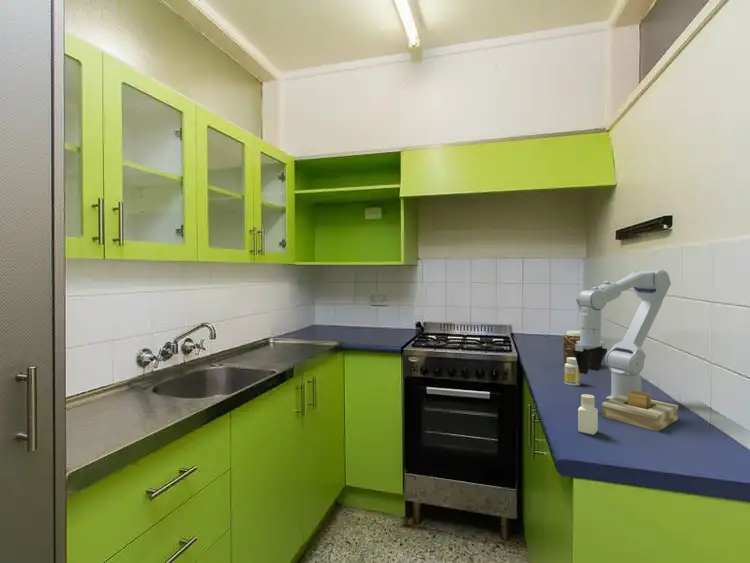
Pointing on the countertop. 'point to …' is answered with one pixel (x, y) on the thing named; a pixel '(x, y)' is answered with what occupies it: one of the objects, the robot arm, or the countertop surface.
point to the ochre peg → (639, 399)
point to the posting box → (640, 413)
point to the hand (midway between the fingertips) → (589, 371)
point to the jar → (570, 345)
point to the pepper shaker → (587, 415)
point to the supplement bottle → (572, 372)
